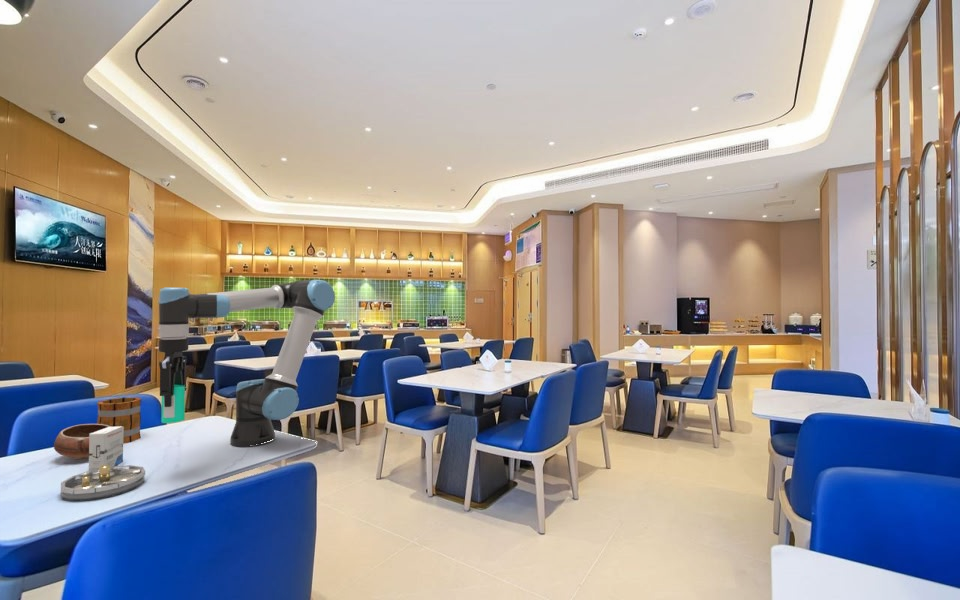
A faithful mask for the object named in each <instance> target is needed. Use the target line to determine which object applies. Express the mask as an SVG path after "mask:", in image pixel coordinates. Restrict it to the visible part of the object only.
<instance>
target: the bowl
mask: <svg viewBox="0 0 960 600" xmlns="http://www.w3.org/2000/svg"><path fill="white" fill-rule="evenodd" d="M107 427H111V426H108V425H103V424H97V423H83V424H82V423H81V424H76V425H72V426H69V427H66V428H64V429H62V430H61V431H60V432H59V433H58V435H57V436H56V438H55V440H54V443H53V449H54V451H55V452H56V453H58V454H59V455H61V456H62V457H64V458H65V457H66V458H69V459H75V460H84V459H89V434H90V433H93V432H96V431H99V430H102V429H104V428H107Z"/></svg>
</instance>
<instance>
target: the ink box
mask: <svg viewBox="0 0 960 600" xmlns="http://www.w3.org/2000/svg"><path fill="white" fill-rule="evenodd" d="M123 436H124V427H123V426H118V427H107V428H104V429H102V430H99V431H96V432H93V433H90V434H89V458H88V471H92V470H96V469H99V467H100V466H102V465H110V467H113V466H118V465H119V464H121V463H123V461H124V444H123Z"/></svg>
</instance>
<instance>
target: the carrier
mask: <svg viewBox="0 0 960 600" xmlns="http://www.w3.org/2000/svg"><path fill="white" fill-rule="evenodd" d="M145 476H146V470H145V468H144V467H143V466H140V465H139V466H138V465H133V464H131V465H130V464H129V465H115V466H113V467H110V465H102V466H100V467H99V469H96V470H92V471H89V470H88V471H85V472H82V473H78V474H76V475H72V476H70V477H68V478H66V479H65V480H63V481H61V482H60V498H61V499H62V500H63V501H68V502H90V501H96V500H101V499H107V498H112V497H115V496H119V495H122V494H125V493H129V492H131V491H134V490H135V489H137V488H139V487H140V486H141V485H143V484H144V482H145Z"/></svg>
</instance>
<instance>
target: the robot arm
mask: <svg viewBox="0 0 960 600" xmlns="http://www.w3.org/2000/svg"><path fill="white" fill-rule="evenodd" d="M335 300H336V293H335V290H334V288H333V286H332V285H331V284H330V283H329V282H328V281H326V280H322V279H312V280H311V279H310V280H309V279H306V280H295V281H289V282H284V283H279V284H273V285H272V286H271V287H266V288H265V287H263V288H253V289H242V290H240V289H239V290H231V291H221V292H219V291H218V292H208V293H206V292H205V293H195V294H191V293H190V290H189V288H187V287H163V288H161V289H160V290H159V295H158V327H157V329H156V330H157V331H158V338H160V339H159V340H158V351H159V352H160V353H164V356H163V357H164V358H163V361H162V360H161V361H159V363H158V365H159V396H160V397H162V396H164V418H170V417H175V395H173V394H174V385H185V392H186V391H187V360H188V356H186V355H185V356H184V355H183V352H186V351H188V350H189V336H190V331H189V330H190V328H189V327H190V326H189V325H190V324H189V322H190V321H189V320H190V319H218V318H226V317H227V316H228V315H229V314H230V313H233V312H241V311H250V310H251V311H252V310H259V309H269V308H274V309H276V310H280V309H292V311H293V313H294V315H293V317H292V319H291V323H290V325H289V327H288V330H287V333H286V336H285V338H284V341H283V343H282V346H281V349H280V351H279V353H278V356H277V359H276V362H275V365H274V367H273V370H272V372H271V374H269V375H267V376H266V377H265V378H261V379H251V380H244V381H240V382H237V385H236V388H235V389H236V391H235V395H236V397H235V399H236V400H235V424H234V427H233V430H232V432H231V435H230V441H229V442H230V446H232V447H233V446H234V447H239V446H248V447H251V446H250V445H256V444H261V443H264V442H267V441H270V440H272V439H274V438H275V439H276V432H274V431H275V429H274V426H273V422H272V420H273V421H275V420H276V421H283V420H285V419H287V418H289V417H290V416H292V415H293V414H294V412H295V411H296V410H297V408H298V405H299V401H300V398H299V394H298V392H297V390H298V387H299V385H298V383H297V381H296V380H297V377H298V374H299V371H300V369H301V366H302V363H303V360H304V358H305V355H306V353H307V352H306V351H307V349H308V348H309V344H310V342H311V338H312V335H313V333H314V330H315V327H316V324H317V322H318V320H321V319H322V318H323V317H324V314H325V312H326V310H329V309H331V308H332V307H333V305H334V304H335ZM275 439H274V440H275Z"/></svg>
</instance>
